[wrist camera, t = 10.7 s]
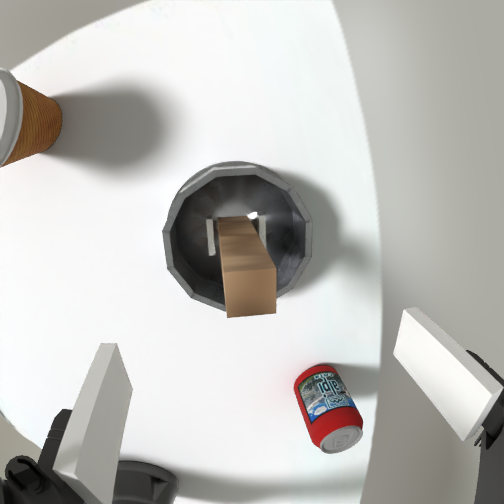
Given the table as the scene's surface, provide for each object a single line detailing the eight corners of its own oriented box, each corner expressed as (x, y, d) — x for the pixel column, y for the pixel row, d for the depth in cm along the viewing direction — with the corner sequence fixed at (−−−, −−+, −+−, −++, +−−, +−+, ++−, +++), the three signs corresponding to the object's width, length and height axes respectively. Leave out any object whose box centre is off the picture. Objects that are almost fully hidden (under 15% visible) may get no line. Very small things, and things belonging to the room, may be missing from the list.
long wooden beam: (219, 246, 31) (227, 317, 18) (217, 217, 30) (223, 272, 17) (248, 243, 32) (276, 313, 18) (247, 215, 30) (276, 268, 17)
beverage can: (338, 357, 40) (373, 418, 29) (333, 390, 42) (361, 448, 31) (292, 366, 39) (318, 432, 28) (290, 398, 41) (312, 461, 30)
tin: (176, 294, 33) (171, 319, 28) (161, 167, 28) (151, 171, 24) (299, 283, 35) (313, 305, 30) (299, 158, 30) (316, 161, 25)
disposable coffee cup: (61, 175, 27) (-4, 194, 16) (2, 158, 25) (-65, 171, 14) (86, 89, 24) (28, 66, 13) (23, 80, 22) (-41, 64, 11)
